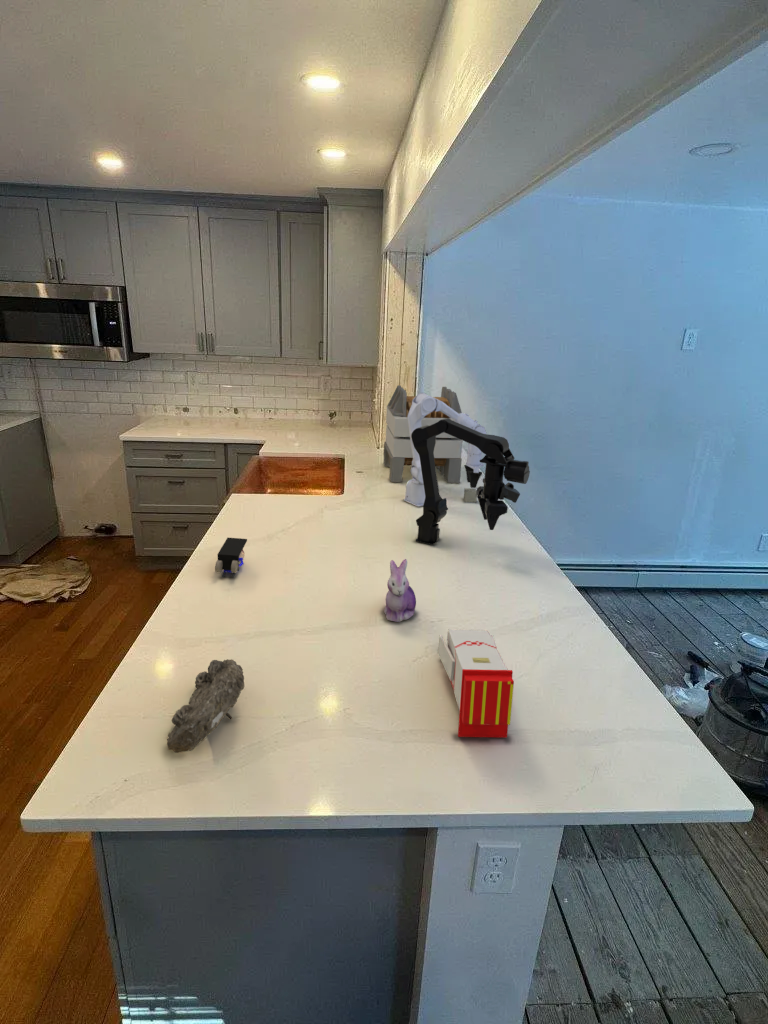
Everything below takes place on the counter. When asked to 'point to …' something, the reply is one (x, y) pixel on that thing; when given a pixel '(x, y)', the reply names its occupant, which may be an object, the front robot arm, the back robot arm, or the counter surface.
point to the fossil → (206, 705)
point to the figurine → (399, 594)
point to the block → (470, 495)
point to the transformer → (400, 444)
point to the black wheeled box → (230, 556)
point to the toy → (478, 682)
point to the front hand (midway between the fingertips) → (488, 524)
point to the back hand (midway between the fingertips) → (471, 484)
